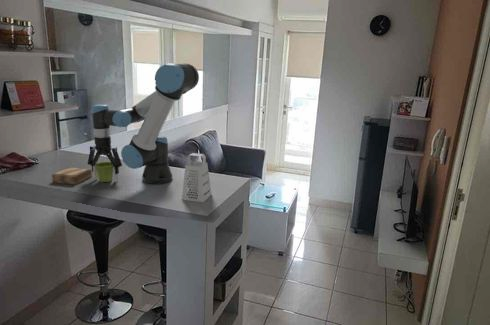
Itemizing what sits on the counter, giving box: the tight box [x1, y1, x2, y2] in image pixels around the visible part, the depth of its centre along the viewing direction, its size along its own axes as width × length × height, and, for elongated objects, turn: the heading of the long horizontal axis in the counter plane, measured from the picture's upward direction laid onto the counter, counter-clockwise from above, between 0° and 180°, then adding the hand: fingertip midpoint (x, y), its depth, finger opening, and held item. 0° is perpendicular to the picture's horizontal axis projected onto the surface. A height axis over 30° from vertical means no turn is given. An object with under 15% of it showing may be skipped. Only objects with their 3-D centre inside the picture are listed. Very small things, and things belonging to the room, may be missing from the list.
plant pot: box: [95, 161, 114, 183], centre depth 188 cm, size 9×9×9 cm
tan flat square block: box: [51, 166, 93, 185], centre depth 190 cm, size 13×13×4 cm
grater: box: [181, 152, 213, 203], centre depth 168 cm, size 10×10×20 cm
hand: (105, 178), depth 189 cm, fingers open, 10 cm apart
